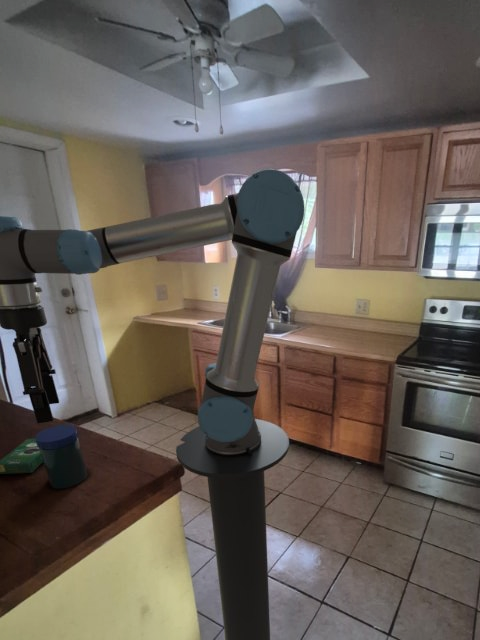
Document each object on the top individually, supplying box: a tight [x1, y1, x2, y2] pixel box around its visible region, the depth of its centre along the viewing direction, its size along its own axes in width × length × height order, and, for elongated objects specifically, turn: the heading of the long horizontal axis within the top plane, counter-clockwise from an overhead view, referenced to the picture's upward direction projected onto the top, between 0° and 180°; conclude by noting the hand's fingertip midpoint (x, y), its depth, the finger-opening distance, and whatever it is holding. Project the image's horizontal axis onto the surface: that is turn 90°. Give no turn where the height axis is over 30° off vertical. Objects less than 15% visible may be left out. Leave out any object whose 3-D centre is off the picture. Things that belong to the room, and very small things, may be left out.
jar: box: [39, 438, 88, 489], centre depth 84 cm, size 8×8×12 cm
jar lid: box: [34, 424, 79, 450], centre depth 82 cm, size 8×8×2 cm
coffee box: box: [0, 437, 43, 475], centre depth 93 cm, size 8×3×13 cm
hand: (49, 411), depth 80 cm, fingers open, 9 cm apart
